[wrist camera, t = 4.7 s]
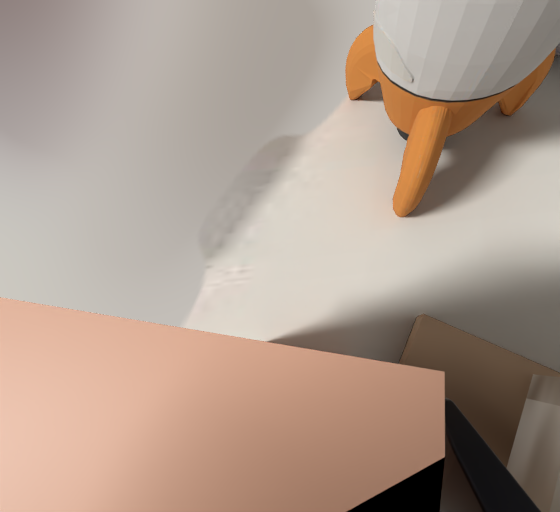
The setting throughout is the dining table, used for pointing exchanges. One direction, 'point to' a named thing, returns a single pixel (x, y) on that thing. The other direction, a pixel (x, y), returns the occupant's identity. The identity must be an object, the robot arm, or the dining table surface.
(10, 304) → the post
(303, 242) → the dining table surface
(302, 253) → the dining table surface
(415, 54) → the toy rocket
